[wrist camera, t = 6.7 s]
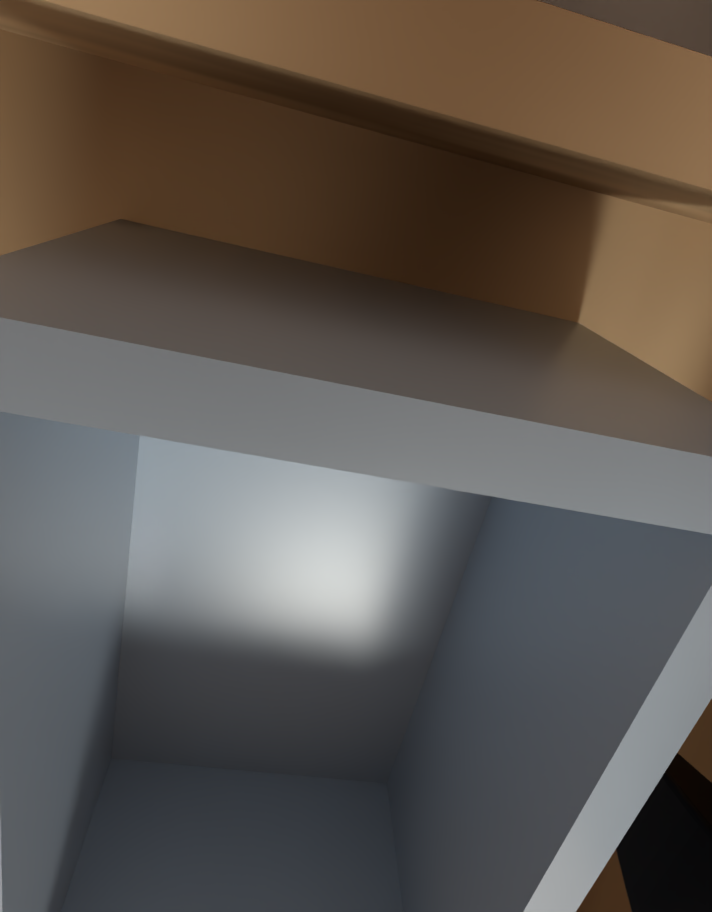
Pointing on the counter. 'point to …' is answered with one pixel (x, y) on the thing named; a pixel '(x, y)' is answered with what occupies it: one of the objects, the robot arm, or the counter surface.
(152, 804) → the small crate
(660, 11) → the counter surface
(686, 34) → the counter surface
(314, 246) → the big crate
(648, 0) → the counter surface
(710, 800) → the robot arm
